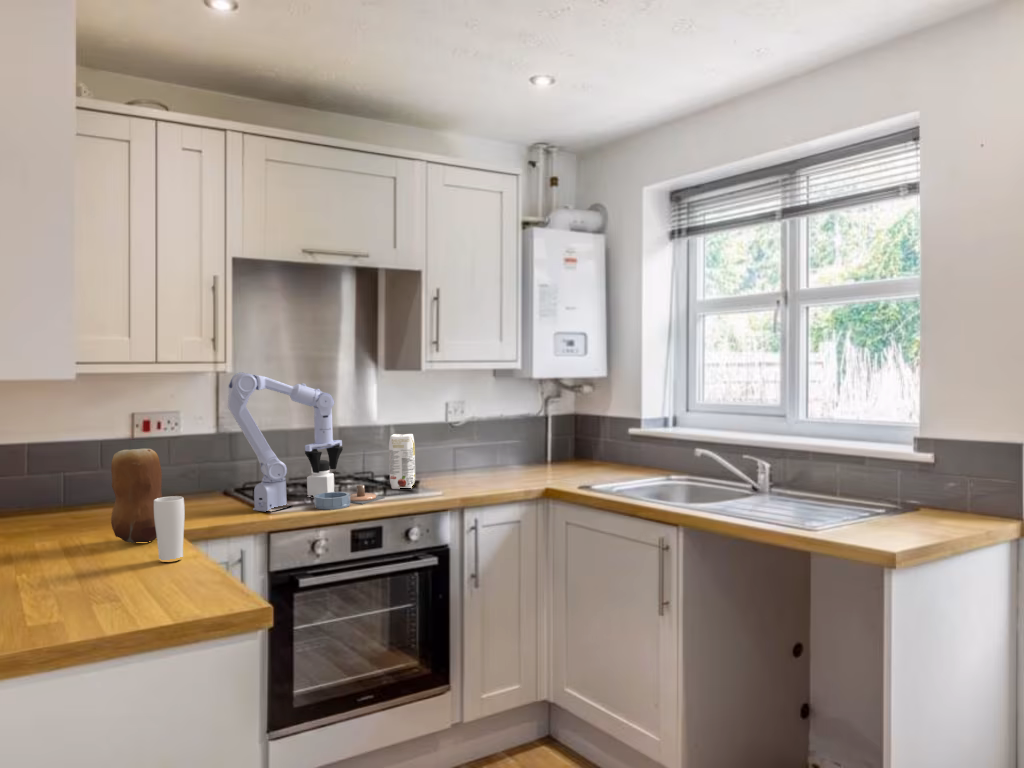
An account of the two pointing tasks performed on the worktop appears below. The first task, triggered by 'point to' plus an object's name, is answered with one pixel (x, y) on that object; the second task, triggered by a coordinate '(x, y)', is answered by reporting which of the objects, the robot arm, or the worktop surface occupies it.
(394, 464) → the juice carton
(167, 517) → the drinking glass
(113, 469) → the butternut squash
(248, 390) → the robot arm
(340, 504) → the bowl
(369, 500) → the mat
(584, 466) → the worktop surface
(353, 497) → the lid
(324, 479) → the medicine bottle
